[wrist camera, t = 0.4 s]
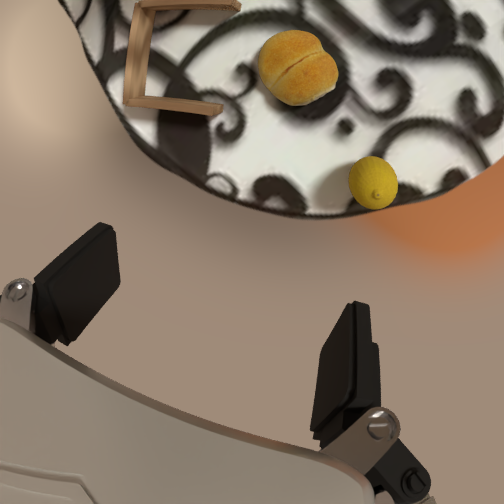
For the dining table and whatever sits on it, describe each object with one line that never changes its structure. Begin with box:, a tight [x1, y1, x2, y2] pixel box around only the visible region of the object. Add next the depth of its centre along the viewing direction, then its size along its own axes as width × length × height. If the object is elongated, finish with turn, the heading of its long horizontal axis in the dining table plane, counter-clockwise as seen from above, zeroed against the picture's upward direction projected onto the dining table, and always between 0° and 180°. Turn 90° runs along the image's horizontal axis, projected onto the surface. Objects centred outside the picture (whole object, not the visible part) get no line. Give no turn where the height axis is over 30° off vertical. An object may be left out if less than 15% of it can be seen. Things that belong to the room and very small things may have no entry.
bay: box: [123, 0, 242, 116], centre depth 29 cm, size 14×12×4 cm
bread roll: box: [258, 30, 338, 106], centre depth 27 cm, size 8×9×4 cm
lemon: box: [349, 156, 398, 209], centre depth 30 cm, size 6×6×8 cm
